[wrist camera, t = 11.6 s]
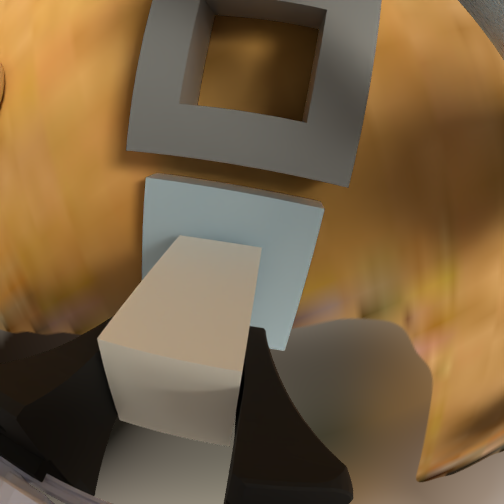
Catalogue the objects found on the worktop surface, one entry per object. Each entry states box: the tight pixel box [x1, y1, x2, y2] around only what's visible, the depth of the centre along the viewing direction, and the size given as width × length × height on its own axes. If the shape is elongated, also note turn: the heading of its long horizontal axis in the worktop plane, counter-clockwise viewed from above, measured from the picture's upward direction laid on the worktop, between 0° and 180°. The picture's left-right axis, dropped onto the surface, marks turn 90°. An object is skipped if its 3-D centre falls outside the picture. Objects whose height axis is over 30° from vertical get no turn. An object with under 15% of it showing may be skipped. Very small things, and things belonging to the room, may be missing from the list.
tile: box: [142, 173, 324, 351], centre depth 17 cm, size 9×9×2 cm
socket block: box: [126, 0, 381, 188], centre depth 12 cm, size 10×10×3 cm
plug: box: [97, 235, 262, 447], centre depth 12 cm, size 4×4×8 cm
